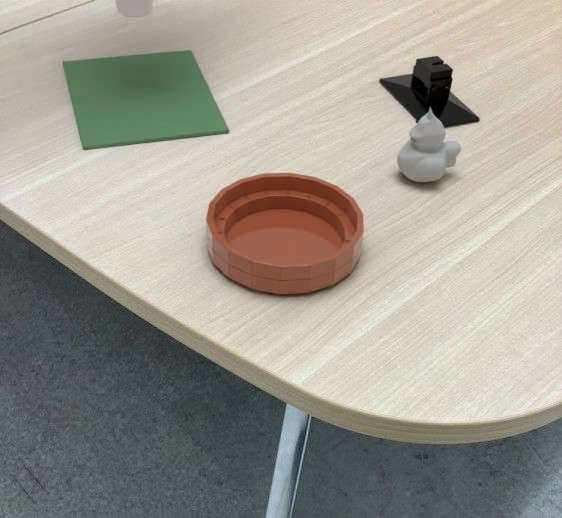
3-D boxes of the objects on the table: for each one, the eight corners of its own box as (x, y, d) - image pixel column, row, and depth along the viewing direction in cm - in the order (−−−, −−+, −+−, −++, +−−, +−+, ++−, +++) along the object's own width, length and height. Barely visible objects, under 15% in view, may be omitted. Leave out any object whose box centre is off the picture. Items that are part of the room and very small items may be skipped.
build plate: (479, 122, 92) (489, 84, 88) (425, 132, 89) (432, 94, 86) (427, 73, 99) (434, 36, 96) (376, 81, 97) (381, 44, 94)
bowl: (229, 309, 68) (228, 278, 65) (193, 213, 77) (191, 182, 74) (382, 283, 71) (387, 253, 68) (330, 194, 80) (333, 164, 78)
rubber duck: (387, 164, 84) (399, 94, 78) (446, 160, 85) (461, 91, 80) (402, 193, 81) (415, 122, 75) (462, 189, 82) (480, 118, 76)
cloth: (83, 149, 84) (82, 146, 83) (63, 64, 97) (62, 61, 96) (229, 132, 87) (229, 129, 87) (190, 52, 100) (190, 49, 100)
